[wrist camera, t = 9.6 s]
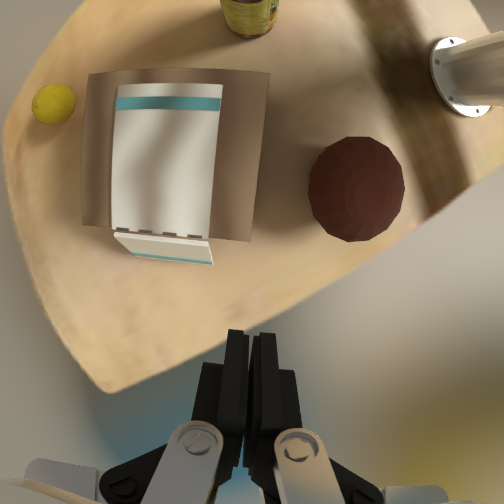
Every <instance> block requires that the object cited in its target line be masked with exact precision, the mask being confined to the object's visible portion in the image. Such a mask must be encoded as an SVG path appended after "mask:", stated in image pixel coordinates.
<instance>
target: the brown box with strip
mask: <svg viewBox="0 0 504 504" xmlns="http://www.w3.org/2000/svg"><path fill="white" fill-rule="evenodd" d="M269 78H270V74H269V73H261V72H251V71H240V70H226V69H204V68H160V69H139V70H125V71H114V72H104V73H96V74H89V77H88V84H87V92H86V101H85V110H84V122H83V136H82V159H81V201H82V225H89V226H100V227H110V228H112V229H114V230H124V231H134V232H144V233H154V234H163V235H173V236H182V237H192V238H201V239H208V238H218V239H227V240H237V241H246V242H250V238H251V229H252V221H253V212H254V204H255V195H256V187H257V178H258V170H259V161H260V153H261V144H262V136H263V128H264V119H265V111H266V103H267V94H268V86H269Z"/></svg>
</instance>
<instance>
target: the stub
mask: <svg viewBox="0 0 504 504" xmlns="http://www.w3.org/2000/svg"><path fill="white" fill-rule="evenodd" d="M114 237H115V238H116V239H117V240H118V241H119V242H120V243H121V244H122V245H124V246H125V247H126V248H127V249H128V250H129V251H130V252H131V254H133V255H134V256H136V257H142V258H150V259H159V260H167V261H175V262H184V263H193V264H201V265H210V266H213V258H212V254H211V250H210V246H209V242H206V241H197V240H187V239H178V238H168V237H159V236H149V235H140V234H130V233H120V232H115V233H114Z"/></svg>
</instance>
